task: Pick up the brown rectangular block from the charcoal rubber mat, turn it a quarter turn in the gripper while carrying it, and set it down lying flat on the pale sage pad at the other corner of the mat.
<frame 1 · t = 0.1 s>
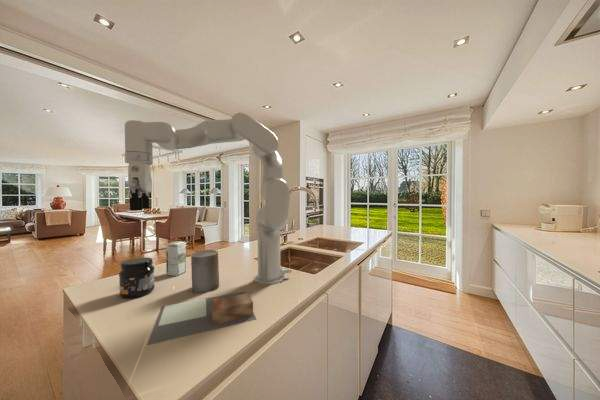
hand: (140, 209, 75), 31 cm above the counter, tool pointing down, fingers open, 9 cm apart
brown rectangular block: (232, 314, 65), resting on mat
supplement container: (137, 293, 81), on the counter
pillar candle: (205, 288, 85), on the counter
mat: (206, 313, 66), on the counter
syrup box: (176, 274, 101), on the counter
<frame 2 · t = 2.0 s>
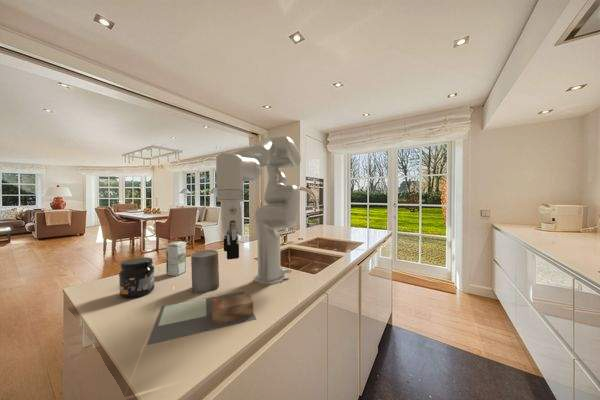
hand: (230, 254, 65), 18 cm above the counter, tool pointing down, fingers open, 9 cm apart
nothing on the counter moved.
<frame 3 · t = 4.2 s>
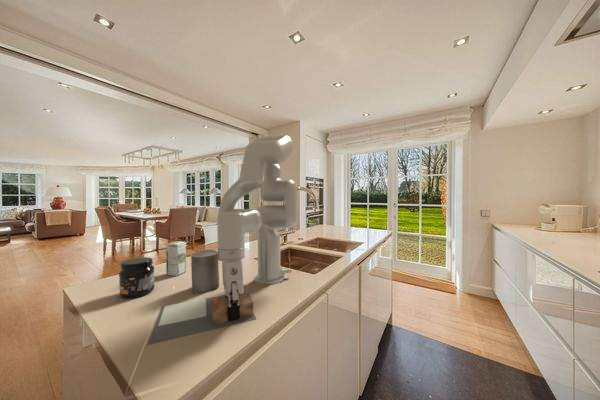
hand: (232, 312, 65), 1 cm above the counter, tool pointing down, fingers closed on brown rectangular block, 6 cm apart
brown rectangular block: (232, 314, 65), resting on mat, touching gripper
everything else where it was.
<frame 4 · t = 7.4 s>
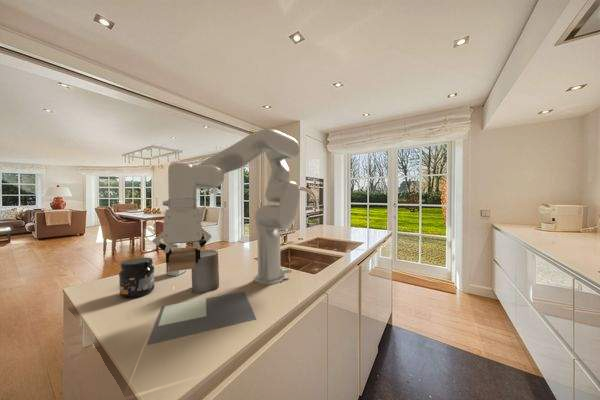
hand: (183, 262, 67), 15 cm above the counter, tool pointing down, fingers closed on brown rectangular block, 6 cm apart
brown rectangular block: (183, 264, 67), point 15 cm above the counter, touching gripper
everything else where it was.
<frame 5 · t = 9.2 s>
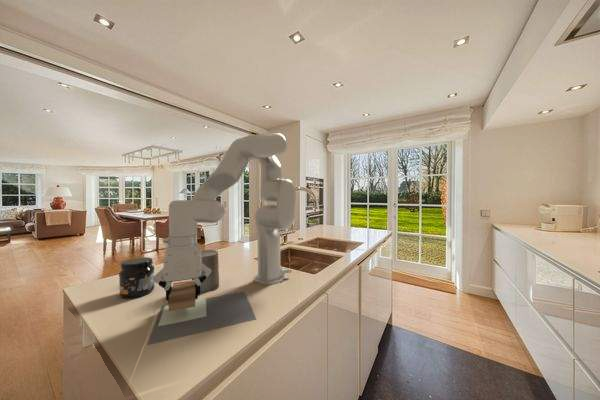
hand: (183, 299, 67), 4 cm above the counter, tool pointing down, fingers closed on brown rectangular block, 6 cm apart
brown rectangular block: (183, 300, 67), point 4 cm above the counter, touching gripper
everything else where it was.
when the fingers open (2 cm above the counter, at t = 10.6 s): brown rectangular block drops 1 cm, resting on mat.
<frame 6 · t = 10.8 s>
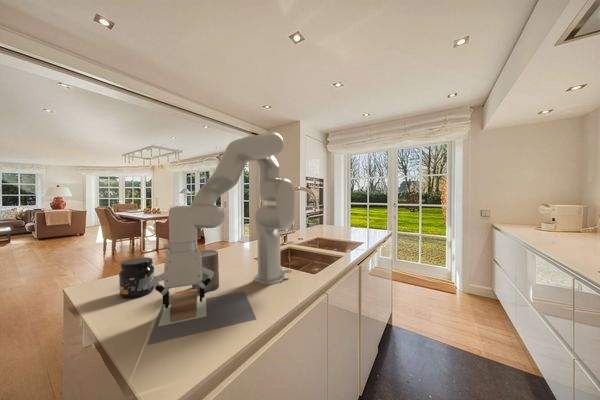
hand: (184, 302, 67), 3 cm above the counter, tool pointing down, fingers open, 8 cm apart
brown rectangular block: (185, 310, 67), point 1 cm above the counter, touching mat
everything else where it was.
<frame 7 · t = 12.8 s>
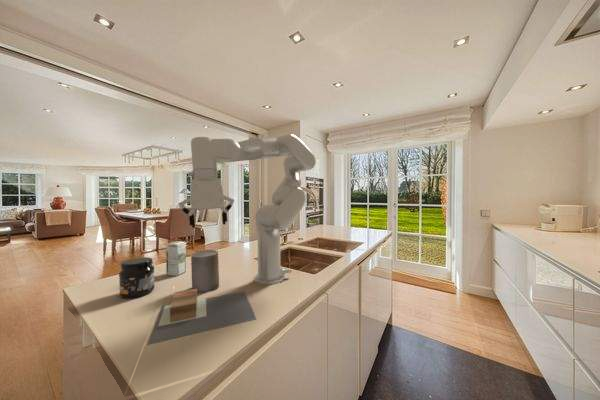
hand: (209, 225, 75), 25 cm above the counter, tool pointing down, fingers open, 9 cm apart
nothing on the counter moved.
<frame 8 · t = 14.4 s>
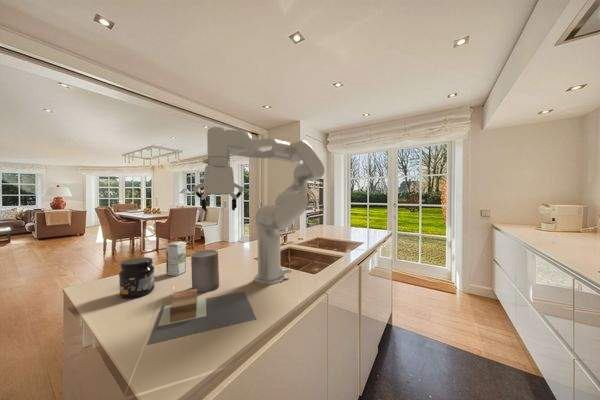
hand: (219, 210, 79), 30 cm above the counter, tool pointing down, fingers open, 9 cm apart
nothing on the counter moved.
at the end: brown rectangular block 0.1 cm from the target spot, point 0.6 cm above the counter; brown rectangular block tilted 0°; the gripper is holding nothing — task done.
